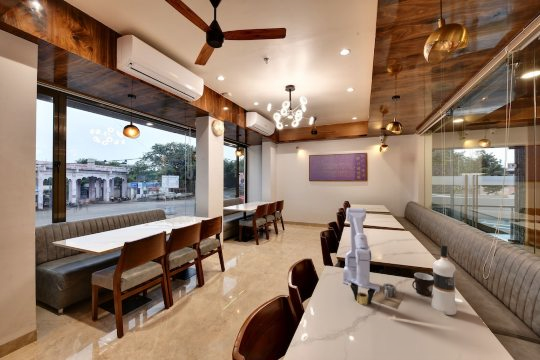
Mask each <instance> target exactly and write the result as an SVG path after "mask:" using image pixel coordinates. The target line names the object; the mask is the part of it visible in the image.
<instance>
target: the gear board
mask: <svg viewBox="0 0 540 360" xmlns="http://www.w3.org/2000/svg"><path fill="white" fill-rule="evenodd" d="M388 287H391V286H388ZM405 295H406V293H404V292H401V291H397V290H396V296H395V297H388V290H385V294H383V286H380V291H379V292H377V291H375V293H374V295H373V297H372V301H371V302H375V303H376V304H377V303H378V304H381V305H383V306H387V307H389V308H392V309H396V310H399V309H398V308H399V306H400V305H401V303H402V301H403V299H404V297H405Z"/></svg>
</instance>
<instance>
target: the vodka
mask: <svg viewBox="0 0 540 360" xmlns="http://www.w3.org/2000/svg"><path fill="white" fill-rule="evenodd" d="M448 247H449V246H448V245H445V244H444V245H443V244H441V245H440V259H437V260H435V261H434V262H433V263H432V267H433V268H432V271H433V290H432V299H431V303H430V304H431V307H432V308H433V309H435V310H437V311H438V312H441V313H443V314H444V315H446V316H454V315H456V314H457V311H458V310H457V306H456V299H455V298H456V265H454V263H452V261H450V260H449V259H448V258H449V257H448V256H449V254H448V253H449V251H448Z"/></svg>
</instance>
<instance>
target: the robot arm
mask: <svg viewBox="0 0 540 360" xmlns="http://www.w3.org/2000/svg"><path fill="white" fill-rule="evenodd" d="M345 215H346V216H345V218H346V219H345V220H346V222H348V223H349V226H350V227H349V228H350V229H349V230H350V231H349V235H350V250H349V251H347V252H346V253H345V258H344V262H345V264H344V265H345V266H344V268H343V271H342V273H343V274H342V275H343V276H342V277H343V279H342V280H343V281H342V284H345V285H349V284H350V285H349V287H350V289H351V291H352V293H353V296H354V301H357V293H359V287H360V288H366V289H368V290H367V294H368V304H367V305H369V306H371V304H372V302H373V301H372V297H373V295H374V294H375V293H376V291H377V292H379V291H380V287H381V286H379V285H378V284H377V285H376V284H375V283H372V282H370V274H371V273H370V266H371V265H370V263H371V262H372V250H371V248H370V246H369V243H368V238H367V237H368V236H367V235H366V234H364V222H365V220H366V218H367V211H366V209H365V207H360V208H357V207H347V208H346V211H345Z"/></svg>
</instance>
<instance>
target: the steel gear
mask: <svg viewBox="0 0 540 360" xmlns="http://www.w3.org/2000/svg"><path fill="white" fill-rule="evenodd" d="M382 285H383V286H382V287H383V294H385V290H388V297H395V296H396V291H397V287H396V286H395V285H394V284H392V283H383V284H382ZM388 286H391V287H388Z"/></svg>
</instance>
